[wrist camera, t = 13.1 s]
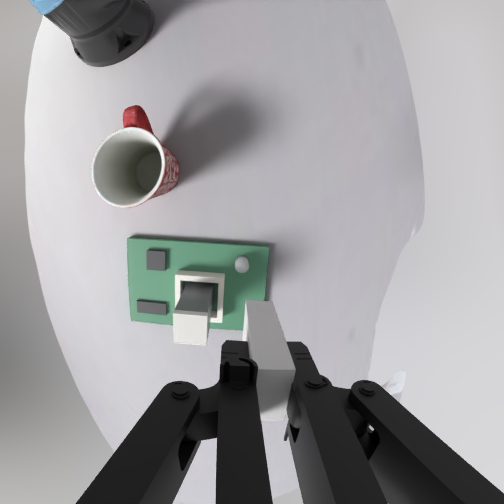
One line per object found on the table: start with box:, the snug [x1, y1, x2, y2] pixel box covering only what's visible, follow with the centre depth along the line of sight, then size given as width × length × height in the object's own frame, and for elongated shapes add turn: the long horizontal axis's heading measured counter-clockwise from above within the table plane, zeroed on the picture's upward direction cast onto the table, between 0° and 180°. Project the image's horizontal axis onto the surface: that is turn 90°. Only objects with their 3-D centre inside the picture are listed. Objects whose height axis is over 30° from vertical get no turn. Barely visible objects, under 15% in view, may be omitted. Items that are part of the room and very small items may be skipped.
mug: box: [91, 105, 179, 208], centre depth 34 cm, size 13×9×14 cm
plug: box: [173, 281, 214, 346], centre depth 38 cm, size 4×4×12 cm
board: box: [127, 237, 269, 330], centre depth 43 cm, size 14×22×4 cm, turn 85°
